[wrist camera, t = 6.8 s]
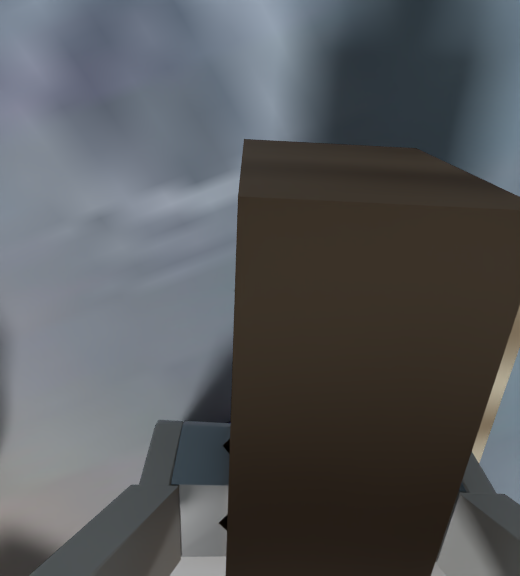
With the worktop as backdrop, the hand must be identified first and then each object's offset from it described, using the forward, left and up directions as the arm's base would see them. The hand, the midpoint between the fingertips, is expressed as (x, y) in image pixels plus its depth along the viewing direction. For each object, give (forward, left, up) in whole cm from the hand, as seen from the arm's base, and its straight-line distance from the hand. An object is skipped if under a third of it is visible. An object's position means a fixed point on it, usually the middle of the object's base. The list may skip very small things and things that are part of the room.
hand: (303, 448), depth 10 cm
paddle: (+3, 0, -1) cm, 3 cm away
